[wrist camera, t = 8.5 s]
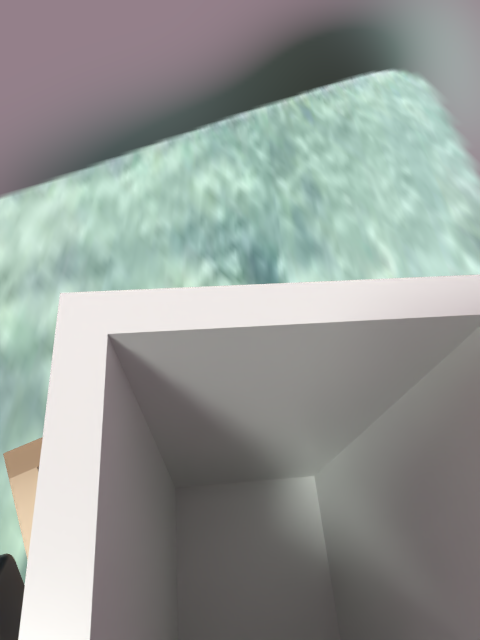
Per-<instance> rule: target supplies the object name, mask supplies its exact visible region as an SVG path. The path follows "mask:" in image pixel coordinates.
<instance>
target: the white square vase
mask: <svg viewBox="0 0 480 640" xmlns="http://www.w3.org/2000/svg"><path fill="white" fill-rule="evenodd" d="M18 640H480V275H461V276H438V277H415V278H392V279H369V280H347V281H324V282H301V283H278V284H255V285H233V286H210V287H187V288H164V289H141V290H119V291H96V292H73V293H60V298H59V306H58V315H57V323H56V331H55V340H54V348H53V356H52V364H51V373H50V381H49V389H48V397H47V406H46V414H45V422H44V431H43V439H42V447H41V455H40V464H39V472H38V480H37V489H36V497H35V505H34V513H33V522H32V530H31V538H30V546H29V555H28V563H27V571H26V580H25V588H24V596H23V604H22V613H21V621H20V629H19V638H18Z"/></svg>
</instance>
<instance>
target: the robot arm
mask: <svg viewBox="0 0 480 640" xmlns="http://www.w3.org/2000/svg"><path fill="white" fill-rule="evenodd" d="M24 588H25V585H24V583H23V580H22V578H21V575H20V572H19V570H18V567H17V564H16V562H15V560H14V558H13V557H12V555H10V554H3V555H0V640H18V638H19V629H20V621H21V613H22V604H23V596H24Z"/></svg>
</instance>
